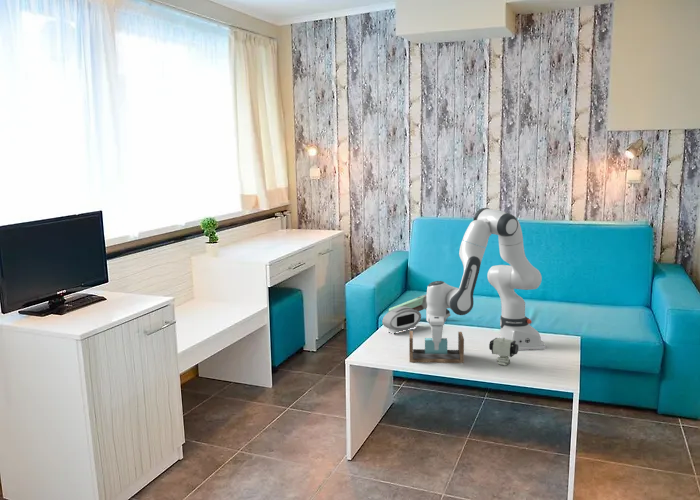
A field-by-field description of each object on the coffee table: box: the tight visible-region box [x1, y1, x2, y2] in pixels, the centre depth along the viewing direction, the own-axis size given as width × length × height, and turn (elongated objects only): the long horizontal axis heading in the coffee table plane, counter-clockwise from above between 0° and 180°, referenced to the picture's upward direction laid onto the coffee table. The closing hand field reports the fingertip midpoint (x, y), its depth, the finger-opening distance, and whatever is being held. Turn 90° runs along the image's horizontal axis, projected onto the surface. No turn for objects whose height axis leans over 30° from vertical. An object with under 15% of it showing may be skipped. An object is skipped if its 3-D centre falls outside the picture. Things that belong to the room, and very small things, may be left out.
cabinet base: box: [408, 330, 465, 364], centre depth 271 cm, size 24×12×11 cm, turn 84°
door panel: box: [424, 337, 448, 354], centre depth 271 cm, size 10×4×8 cm, turn 84°
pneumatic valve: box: [488, 337, 519, 367], centre depth 261 cm, size 6×12×12 cm, turn 55°
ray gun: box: [388, 294, 451, 319], centre depth 339 cm, size 7×32×20 cm, turn 84°
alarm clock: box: [382, 307, 422, 333], centre depth 318 cm, size 23×6×13 cm, turn 129°
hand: (436, 346), depth 271 cm, fingers open, 8 cm apart
